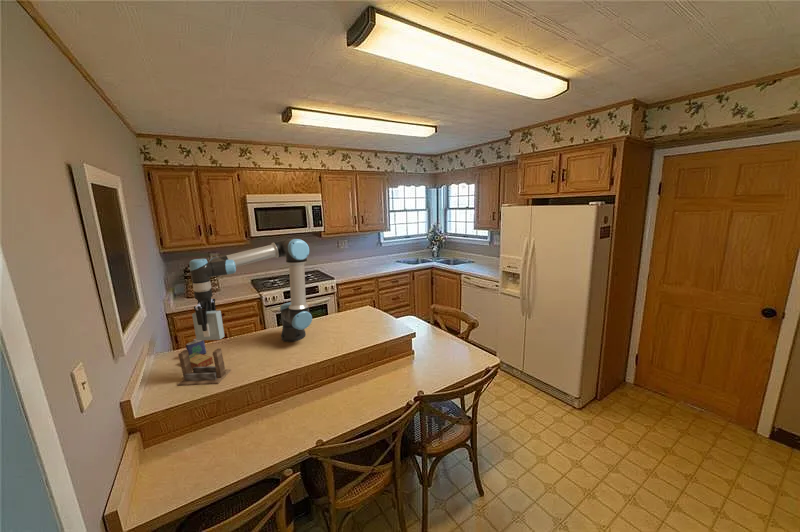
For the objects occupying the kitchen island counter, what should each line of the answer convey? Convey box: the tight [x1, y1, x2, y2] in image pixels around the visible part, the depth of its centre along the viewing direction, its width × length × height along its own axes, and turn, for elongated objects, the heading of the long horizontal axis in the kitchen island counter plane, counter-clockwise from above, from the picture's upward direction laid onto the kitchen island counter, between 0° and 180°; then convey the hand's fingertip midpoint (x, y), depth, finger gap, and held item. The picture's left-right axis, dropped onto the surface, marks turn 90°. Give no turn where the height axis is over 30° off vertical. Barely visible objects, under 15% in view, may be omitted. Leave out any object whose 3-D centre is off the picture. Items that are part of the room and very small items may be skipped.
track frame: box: [177, 348, 232, 387], centre depth 155 cm, size 20×12×15 cm, turn 90°
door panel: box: [191, 310, 225, 341], centre depth 155 cm, size 12×4×14 cm, turn 90°
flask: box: [185, 338, 207, 355], centre depth 179 cm, size 9×3×11 cm, turn 138°
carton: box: [189, 352, 214, 368], centre depth 171 cm, size 8×16×4 cm, turn 63°
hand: (210, 334), depth 156 cm, fingers closed on door panel, 4 cm apart
